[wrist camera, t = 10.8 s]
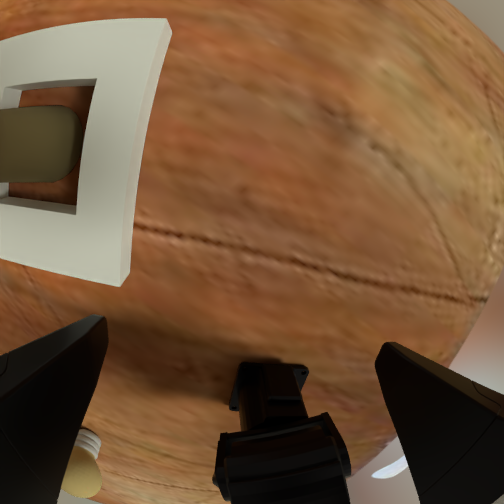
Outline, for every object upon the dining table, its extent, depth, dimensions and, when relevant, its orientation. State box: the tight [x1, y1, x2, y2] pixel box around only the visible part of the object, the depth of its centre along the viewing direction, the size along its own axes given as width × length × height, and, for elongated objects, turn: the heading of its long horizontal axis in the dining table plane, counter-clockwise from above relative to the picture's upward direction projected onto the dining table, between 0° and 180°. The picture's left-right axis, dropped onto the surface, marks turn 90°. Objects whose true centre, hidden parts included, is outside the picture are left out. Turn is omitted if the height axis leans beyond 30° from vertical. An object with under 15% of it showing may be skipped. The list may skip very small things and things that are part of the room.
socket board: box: [0, 18, 172, 287], centre depth 15 cm, size 18×16×2 cm
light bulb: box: [61, 429, 102, 498], centre depth 22 cm, size 6×6×10 cm
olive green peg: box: [0, 105, 83, 183], centre depth 11 cm, size 6×6×11 cm
